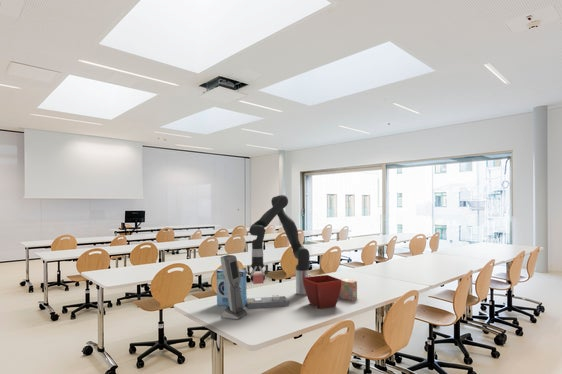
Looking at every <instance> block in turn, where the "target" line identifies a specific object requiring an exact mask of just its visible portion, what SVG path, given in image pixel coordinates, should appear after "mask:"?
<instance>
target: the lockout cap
mask: <svg viewBox="0 0 562 374" xmlns="http://www.w3.org/2000/svg"><path fill="white" fill-rule="evenodd" d="M264 282H265V280H264V279H263V274H262V272H254V273H253V282H252V284H253V285H255V284H257V285H258V284H260V285H261V284H264Z"/></svg>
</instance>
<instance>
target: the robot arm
mask: <svg viewBox="0 0 562 374" xmlns="http://www.w3.org/2000/svg"><path fill="white" fill-rule="evenodd" d="M288 203H289V199H288V197H287V196H286V195H285V194H280V195H276V196H273V197H272V198H271V206H272V207H271V208H270V209H268V210H267V211H266V212H264V213H263V214H262V215H261V217H260V218H259V219H258V220H257V221H255V222H254V223H253V224H251V226H250V227H249V230H248V231H249V234H250V235H251V236H255V237H256V238H255V239H253V240H252V241H251V265H249V264H247V265H246V268H247V269H246V272H247V275H248V276H250V281H251V282H252V283H253V273H256V272H260V273H262V274H263V279H264V281H265V280H266V275H268V273H269V264H264V248H263V247H264V245H263V242H264V238H265V235H266V234H265V233H266V228H267V227H268V226H269V225H270V223H271V222H272V221H273V219H274V218H276V217H278V220H279V222H280V224H281V226H282V228H283V231H284V233H285V235H286V238H287V240H288V241H289V244H290V246H291V250H292V253H293V255H294V256H293V257H294V258H295V259H297V265H296V266H295V291H296V292H295V294H297V295H299V296H301V295H302V296H304V295H305V296H307V294H306V291H305V287H304V282H303V278H304V277H309V267H310V259H311V258H310V256H311V255H310V251H309V250H308V249H307V248H305V247H303V246H302V244H301V243H300V239H299V231H298V227H297V225H296V222H295V221H294V220H293V219H292V218H291V216H289V215H288V214H287V213H286V211H285V210H284V209H285V208H286V207H287V206H288ZM251 268H252V270H251V272H250V269H251ZM264 268H265V272H264V270H263V269H264Z"/></svg>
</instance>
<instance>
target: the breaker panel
mask: <svg viewBox="0 0 562 374" xmlns="http://www.w3.org/2000/svg"><path fill="white" fill-rule="evenodd" d="M279 297H280V300H275V301H273V299H272V296H266V297H265V296H264V297H260V298H261V301H259V302H255V301H254V298H255V297H250V298H248V297H247V305H246V307H247V309H261V308H274V307H289V299H287V297H286V296H285V295H281V296H280V295H279Z"/></svg>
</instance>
